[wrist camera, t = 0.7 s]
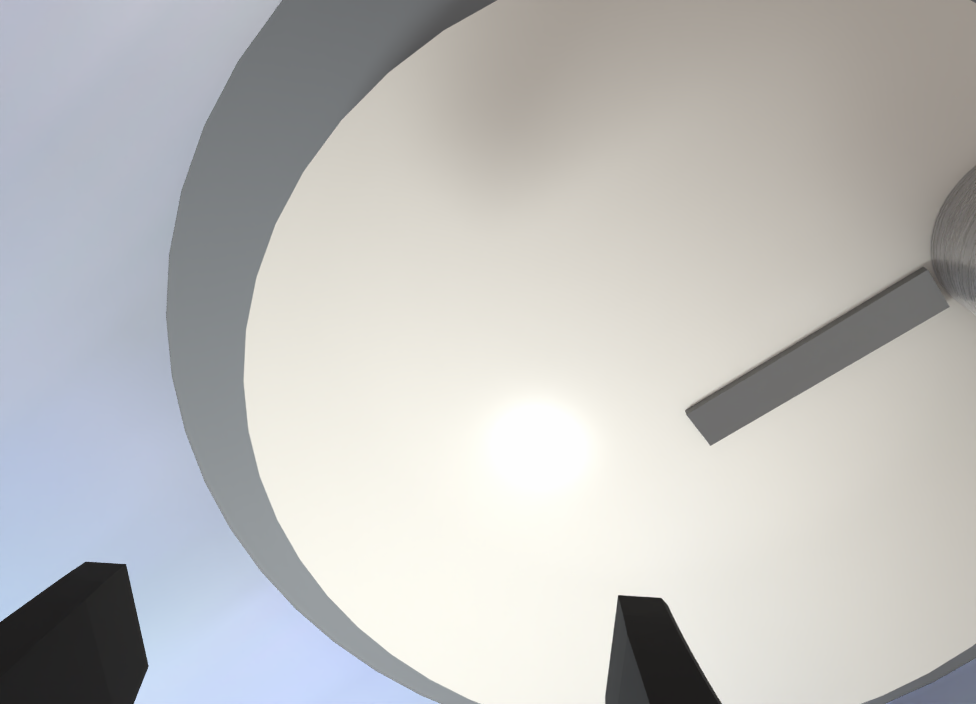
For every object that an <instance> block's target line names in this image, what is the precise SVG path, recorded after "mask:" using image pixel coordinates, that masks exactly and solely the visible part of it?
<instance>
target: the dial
mask: <svg viewBox="0 0 976 704" xmlns="http://www.w3.org/2000/svg"><path fill="white" fill-rule="evenodd" d="M244 391H245V401H246V411H247V422H248V431H249V435H250V439H251V443H252V447H253V451H254V455H255V459H256V463H257V467H258V471H259V475H260V478H261V481H262V483H263V486H264V488H265V491H266V493H267V496H268V498H269V501H270V503H271V506H272V508H273V510H274V513H275V515H276V518H277V520H278V522H279V524H280V525H281V527H282V529H283V531H284V532H285V534H286V536H287V538H288V540H289V541H290V543H291V545H292V547H293V548H294V550H295V552H296V554H297V555H298V557H299V559H300V560H301V562H302V563H303V564H304V566H305V567H306V568H307V570H308V571H309V572H310V573H311V575H312V576H313V577H314V579H315V580H316V581H317V583H318V584H319V585H320V587H321V588H322V589H323V591H324V592H325V593H326V595H327V596H328V597H329V598H330V599H331V600H332V601H333V602H334V603H335V604H336V605H337V606H338V607H339V608H340V609H341V610H342V611H343V612H344V613H345V614H346V615H347V616H348V617H349V618H350V619H351V621H352V622H353V623H354V624H355V625H356V626H357V627H358V628H360V629H361V630H362V631H363V632H364V633H366V634H367V635H368V636H369V637H371V638H372V639H373V640H374V641H376V642H377V643H378V644H379V645H380V646H382V647H383V648H384V649H385V650H387V651H388V652H389V653H390V654H391V655H393V656H394V657H396V658H397V659H399V660H401V661H402V662H404V663H405V664H407V665H408V666H410V667H411V668H413V669H414V670H416V671H418V672H419V673H421V674H422V675H424V676H425V677H427V678H428V679H430V680H432V681H434V682H436V683H438V684H440V685H442V686H444V687H446V688H448V689H450V690H452V691H454V692H456V693H458V694H460V695H462V696H464V697H466V698H468V699H470V700H472V701H475V702H477V703H480V704H605V694H606V686H607V678H608V670H609V662H610V654H611V647H612V639H613V631H614V623H615V615H616V607H617V600H618V595H625V596H641V597H657V598H662V599H663V600H664V601H665V602H666V604H667V605H668V607H669V609H670V611H671V613H672V615H673V617H674V619H675V621H676V623H677V625H678V627H679V629H680V631H681V633H682V635H683V637H684V639H685V640H686V642H687V644H688V646H689V648H690V650H691V652H692V653H693V655H694V657H695V659H696V661H697V662H698V664H699V666H700V668H701V669H702V671H703V673H704V675H705V676H706V678H707V680H708V681H709V683H710V685H711V687H712V688H713V690H714V692H715V693H716V695H717V697H718V698H719V700H720V701H721V703H722V704H862V703H864V702H867V701H870V700H872V699H875V698H878V697H880V696H883V695H885V694H887V693H889V692H891V691H893V690H895V689H897V688H899V687H901V686H903V685H905V684H907V683H909V682H912V681H914V680H916V679H918V678H920V677H922V676H924V675H926V674H928V673H930V672H931V671H933V670H934V669H936V668H938V667H939V666H941V665H943V664H944V663H946V662H947V661H949V660H951V659H952V658H954V657H956V656H957V655H959V654H960V653H962V652H964V651H965V650H967V649H969V648H970V647H972V646H973V645H974V644H976V3H975V2H973V1H971V0H497V1H495V2H493V3H492V4H490V5H488V6H486V7H484V8H483V9H481V10H479V11H477V12H476V13H474V14H472V15H470V16H468V17H467V18H465V19H463V20H461V21H460V22H458V23H456V24H454V25H453V26H451V27H449V28H447V29H445V30H444V31H442V32H441V33H440V34H438V35H437V36H436V37H435V38H433V39H432V40H431V41H429V42H428V43H427V44H425V45H424V46H423V47H421V48H420V49H419V50H417V51H416V52H415V53H414V54H412V55H411V56H410V57H408V58H407V59H406V60H404V61H403V62H402V63H400V64H399V65H398V66H397V67H395V68H394V69H393V70H391V71H390V72H389V73H388V74H387V75H386V76H385V77H384V78H383V79H382V80H381V81H380V82H379V83H378V84H377V85H376V86H375V87H374V88H373V89H372V90H371V91H370V92H369V93H368V94H367V95H366V96H365V97H364V98H363V99H362V100H361V101H360V102H359V103H358V104H357V105H356V106H355V107H354V108H353V109H352V110H351V111H350V112H349V113H348V114H347V115H346V116H345V117H344V118H343V119H342V120H341V122H340V123H339V124H338V126H337V127H336V128H335V130H334V131H333V132H332V134H331V135H330V136H329V138H328V139H327V141H326V142H325V143H324V145H323V146H322V147H321V149H320V150H319V151H318V153H317V154H316V155H315V157H314V158H313V159H312V161H311V162H310V164H309V165H308V166H307V168H306V169H305V170H304V172H303V174H302V176H301V177H300V179H299V181H298V183H297V185H296V187H295V189H294V191H293V192H292V194H291V196H290V198H289V200H288V202H287V204H286V205H285V207H284V209H283V211H282V213H281V215H280V217H279V219H278V220H277V222H276V224H275V227H274V230H273V233H272V235H271V238H270V241H269V244H268V247H267V249H266V252H265V255H264V258H263V261H262V263H261V266H260V269H259V272H258V274H257V277H256V282H255V287H254V292H253V297H252V302H251V307H250V312H249V317H248V322H247V327H246V340H245V361H244Z"/></svg>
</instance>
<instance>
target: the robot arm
mask: <svg viewBox="0 0 976 704" xmlns="http://www.w3.org/2000/svg"><path fill="white" fill-rule="evenodd" d="M147 669H148V662H147V657H146V653H145V648H144V644H143V639H142V635H141V630H140V626H139V621H138V617H137V612H136V608H135V603H134V599H133V594H132V589H131V585H130V580H129V576H128V571H127V567H126V564H113V563H97V562H85V563H83V564H82V565H80V566H79V567H77V568H76V569H74V570H73V571H71V572H70V573H68V574H67V575H65V576H64V577H62V578H61V579H60V580H58V581H57V582H55V583H54V584H53V585H51V586H50V587H48V588H47V589H46V590H44V591H43V592H41V593H40V594H39V595H37V596H36V597H34V598H33V599H32V600H30V601H29V602H27V603H26V604H25V605H23V606H22V607H21V608H19V609H18V610H16V611H15V612H14V613H12V614H11V615H9V616H8V617H7V618H5V619H4V620H3V621H1V622H0V704H134V701H135V699H136V696H137V694H138V691H139V689H140V686H141V684H142V681H143V679H144V676H145V674H146V671H147ZM605 704H722V703H721V701H720V700H719V698H718V697H717V695H716V693H715V692H714V690H713V688H712V687H711V685H710V683H709V681H708V680H707V678H706V676H705V675H704V673H703V671H702V669H701V668H700V666H699V664H698V662H697V661H696V659H695V657H694V655H693V653H692V652H691V650H690V648H689V646H688V644H687V642H686V640H685V639H684V637H683V635H682V633H681V631H680V629H679V627H678V625H677V623H676V621H675V619H674V617H673V615H672V613H671V611H670V609H669V607H668V605H667V604H666V602H665V601H664V600H663V599H662V598H657V597H641V596H625V595H618V600H617V607H616V615H615V623H614V631H613V639H612V647H611V654H610V662H609V670H608V678H607V686H606V694H605Z"/></svg>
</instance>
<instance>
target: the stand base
mask: <svg viewBox="0 0 976 704" xmlns="http://www.w3.org/2000/svg"><path fill="white" fill-rule="evenodd" d="M495 1H497V0H282V2H281V3H280V4H279V6H278V7H277V9H276V10H275V11H274V13H273V14H272V15H271V17H270V18H269V20H268V21H267V22H266V24H265V25H264V26H263V28H262V29H261V31H260V32H259V33H258V35H257V36H256V37H255V39H254V40H253V42H252V43H251V44H250V46H249V47H248V48H247V50H246V51H245V53H244V54H243V55H242V57H241V58H240V59H239V61H238V63H237V64H236V66H235V68H234V70H233V72H232V74H231V76H230V78H229V80H228V82H227V84H226V85H225V87H224V89H223V91H222V93H221V95H220V97H219V99H218V101H217V103H216V105H215V106H214V108H213V110H212V112H211V114H210V116H209V118H208V120H207V122H206V124H205V126H204V128H203V131H202V134H201V137H200V140H199V143H198V145H197V148H196V151H195V154H194V157H193V160H192V162H191V165H190V168H189V171H188V174H187V177H186V180H185V182H184V185H183V188H182V191H181V196H180V201H179V207H178V212H177V217H176V222H175V227H174V232H173V238H172V243H171V248H170V253H169V268H168V290H167V311H166V320H167V330H168V341H169V351H170V362H171V372H172V378H173V383H174V387H175V391H176V395H177V399H178V404H179V408H180V412H181V416H182V420H183V424H184V429H185V432H186V435H187V437H188V440H189V442H190V445H191V448H192V450H193V453H194V455H195V458H196V460H197V463H198V466H199V468H200V471H201V473H202V476H203V479H204V481H205V483H206V485H207V487H208V489H209V491H210V492H211V494H212V496H213V498H214V500H215V502H216V503H217V505H218V507H219V509H220V511H221V513H222V514H223V516H224V518H225V520H226V522H227V523H228V525H229V527H230V529H231V530H232V532H233V533H234V535H235V536H236V537H237V539H238V540H239V541H240V543H241V544H242V546H243V547H244V548H245V550H246V551H247V553H248V554H249V555H250V557H251V558H252V559H253V561H254V562H255V564H256V565H257V566H258V568H259V569H260V571H261V572H262V573H263V574H264V575H265V576H266V577H267V578H268V579H269V580H270V582H271V583H272V584H273V585H274V586H275V587H276V588H277V589H278V590H279V591H280V592H281V593H282V595H283V596H284V597H285V598H286V599H287V600H288V601H289V602H290V603H291V604H292V605H293V606H294V608H295V609H296V610H298V611H299V612H300V613H301V614H302V615H303V616H304V617H306V618H307V619H308V620H309V621H310V622H311V623H313V624H314V625H315V626H316V627H317V628H318V629H320V630H321V631H322V632H323V633H324V634H325V635H327V636H328V637H329V638H330V639H331V640H332V641H334V642H335V643H336V644H338V645H339V646H341V647H342V648H343V649H345V650H346V651H348V652H349V653H351V654H352V655H354V656H355V657H357V658H358V659H359V660H361V661H362V662H364V663H365V664H367V665H368V666H370V667H371V668H373V669H374V670H375V671H377V672H379V673H381V674H383V675H384V676H386V677H388V678H390V679H392V680H394V681H396V682H397V683H399V684H401V685H403V686H405V687H407V688H408V689H410V690H412V691H414V692H416V693H418V694H420V695H421V696H424V697H426V698H429V699H431V700H433V701H436V702H438V703H441V704H480V703H477V702H475V701H472V700H470V699H468V698H466V697H464V696H462V695H460V694H458V693H456V692H454V691H452V690H450V689H448V688H446V687H444V686H442V685H440V684H438V683H436V682H434V681H432V680H430V679H428V678H427V677H425V676H424V675H422V674H421V673H419V672H418V671H416V670H414V669H413V668H411V667H410V666H408V665H407V664H405V663H404V662H402V661H401V660H399V659H397V658H396V657H394V656H393V655H391V654H390V653H389V652H388V651H387V650H385V649H384V648H383V647H382V646H380V645H379V644H378V643H377V642H376V641H374V640H373V639H372V638H371V637H369V636H368V635H367V634H366V633H364V632H363V631H362V630H361V629H360V628H358V627H357V626H356V625H355V624H354V623H353V622H352V621H351V619H350V618H349V617H348V616H347V615H346V614H345V613H344V612H343V611H342V610H341V609H340V608H339V607H338V606H337V605H336V604H335V603H334V602H333V601H332V600H331V599H330V598H329V597H328V596H327V595H326V593H325V592H324V591H323V589H322V588H321V587H320V585H319V584H318V583H317V581H316V580H315V579H314V577H313V576H312V575H311V573H310V572H309V571H308V570H307V568H306V567H305V566H304V564H303V563H302V562H301V560H300V559H299V557H298V555H297V554H296V552H295V550H294V548H293V547H292V545H291V543H290V541H289V540H288V538H287V536H286V534H285V532H284V531H283V529H282V527H281V525H280V524H279V522H278V520H277V518H276V515H275V513H274V510H273V508H272V506H271V503H270V501H269V498H268V496H267V493H266V491H265V488H264V486H263V483H262V481H261V478H260V475H259V471H258V467H257V463H256V459H255V455H254V451H253V447H252V443H251V439H250V435H249V431H248V422H247V411H246V401H245V391H244V361H245V340H246V327H247V322H248V317H249V312H250V307H251V302H252V297H253V292H254V287H255V282H256V277H257V274H258V272H259V269H260V266H261V263H262V261H263V258H264V255H265V252H266V249H267V247H268V244H269V241H270V238H271V235H272V233H273V230H274V227H275V224H276V222H277V220H278V219H279V217H280V215H281V213H282V211H283V209H284V207H285V205H286V204H287V202H288V200H289V198H290V196H291V194H292V192H293V191H294V189H295V187H296V185H297V183H298V181H299V179H300V177H301V176H302V174H303V172H304V170H305V169H306V168H307V166H308V165H309V164H310V162H311V161H312V159H313V158H314V157H315V155H316V154H317V153H318V151H319V150H320V149H321V147H322V146H323V145H324V143H325V142H326V141H327V139H328V138H329V136H330V135H331V134H332V132H333V131H334V130H335V128H336V127H337V126H338V124H339V123H340V122H341V120H342V119H343V118H344V117H345V116H346V115H347V114H348V113H349V112H350V111H351V110H352V109H353V108H354V107H355V106H356V105H357V104H358V103H359V102H360V101H361V100H362V99H363V98H364V97H365V96H366V95H367V94H368V93H369V92H370V91H371V90H372V89H373V88H374V87H375V86H376V85H377V84H378V83H379V82H380V81H381V80H382V79H383V78H384V77H385V76H386V75H387V74H388V73H389V72H390V71H391V70H393V69H394V68H395V67H397V66H398V65H399V64H400V63H402V62H403V61H404V60H406V59H407V58H408V57H410V56H411V55H412V54H414V53H415V52H416V51H417V50H419V49H420V48H421V47H423V46H424V45H425V44H427V43H428V42H429V41H431V40H432V39H433V38H435V37H436V36H437V35H438V34H440V33H441V32H442V31H444V30H445V29H447V28H449V27H451V26H453V25H454V24H456V23H458V22H460V21H461V20H463V19H465V18H467V17H468V16H470V15H472V14H474V13H476V12H477V11H479V10H481V9H483V8H484V7H486V6H488V5H490V4H492V3H493V2H495ZM971 1H973V2H975V3H976V0H971ZM975 658H976V644H974V645H973V646H972V647H970V648H969V649H967V650H965V651H964V652H962V653H960V654H959V655H957V656H956V657H954V658H952V659H951V660H949V661H947V662H946V663H944V664H943V665H941V666H939V667H938V668H936V669H934V670H933V671H931V672H930V673H928V674H926V675H924V676H922V677H920V678H918V679H916V680H914V681H912V682H909V683H907V684H905V685H903V686H901V687H899V688H897V689H895V690H893V691H891V692H889V693H887V694H885V695H883V696H880V697H878V698H875V699H872V700H870V701H867V702H864V703H862V704H885V703H888V702H890V701H892V700H894V699H896V698H899V697H901V696H903V695H905V694H908V693H910V692H912V691H914V690H917V689H919V688H921V687H923V686H926V685H928V684H930V683H932V682H934V681H936V680H938V679H940V678H941V677H943V676H945V675H947V674H949V673H950V672H952V671H954V670H956V669H957V668H959V667H961V666H963V665H964V664H966V663H968V662H970V661H972V660H973V659H975Z"/></svg>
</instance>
